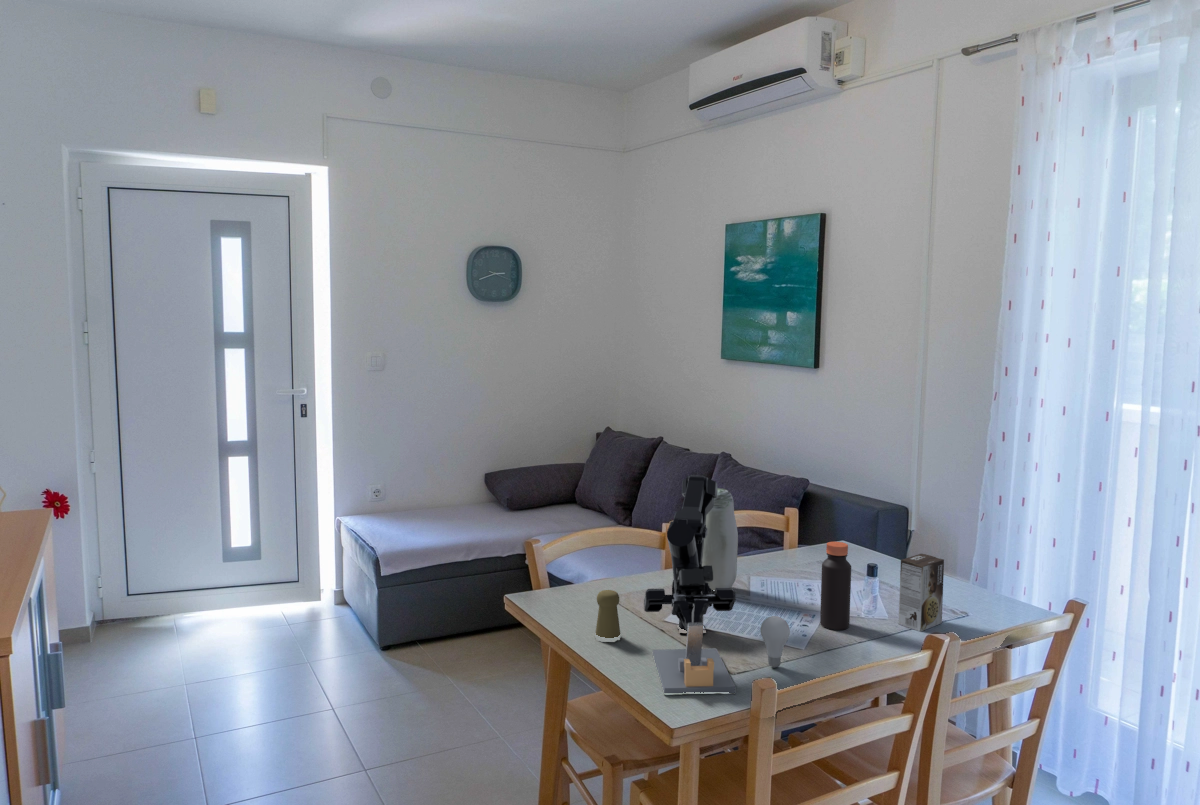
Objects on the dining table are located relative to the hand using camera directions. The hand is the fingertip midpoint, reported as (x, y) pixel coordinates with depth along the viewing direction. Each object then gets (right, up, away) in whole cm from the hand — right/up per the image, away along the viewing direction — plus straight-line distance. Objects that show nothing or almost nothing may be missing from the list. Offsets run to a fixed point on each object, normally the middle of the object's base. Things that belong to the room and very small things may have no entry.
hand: (693, 638), depth 168 cm
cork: (-17, -6, +22) cm, 29 cm away
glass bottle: (+13, -3, +56) cm, 58 cm away
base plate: (0, -8, +3) cm, 9 cm away
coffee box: (+58, -6, +32) cm, 67 cm away
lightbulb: (+18, -8, +6) cm, 21 cm away
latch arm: (0, -1, -1) cm, 1 cm away
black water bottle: (+37, -6, +31) cm, 49 cm away
